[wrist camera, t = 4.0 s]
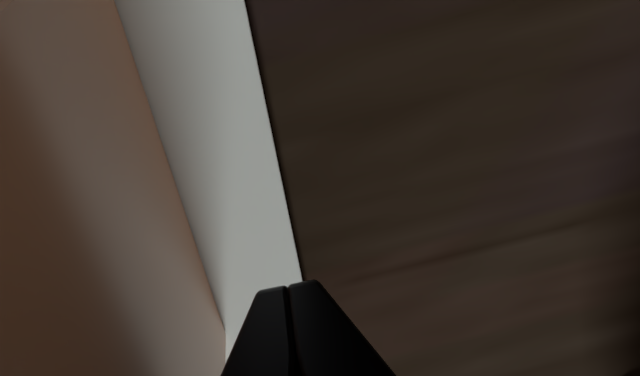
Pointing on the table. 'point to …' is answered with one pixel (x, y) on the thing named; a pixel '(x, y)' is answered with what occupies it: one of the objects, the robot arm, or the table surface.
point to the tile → (91, 209)
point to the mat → (216, 143)
